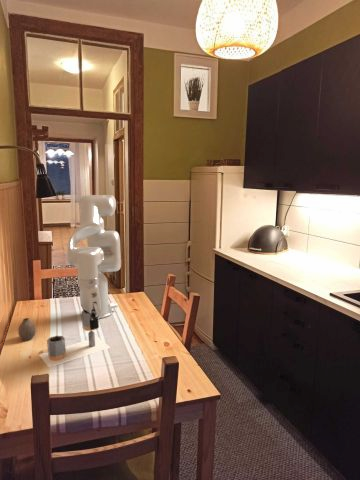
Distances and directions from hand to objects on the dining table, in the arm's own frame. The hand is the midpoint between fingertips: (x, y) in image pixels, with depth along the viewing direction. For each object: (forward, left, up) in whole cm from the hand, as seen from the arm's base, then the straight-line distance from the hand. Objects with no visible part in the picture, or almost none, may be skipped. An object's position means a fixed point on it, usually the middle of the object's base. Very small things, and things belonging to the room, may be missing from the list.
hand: (90, 325), depth 138 cm
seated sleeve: (+14, 0, -9) cm, 16 cm away
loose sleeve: (0, 0, -1) cm, 1 cm away
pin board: (+7, 0, -10) cm, 12 cm away
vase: (+18, -27, -10) cm, 34 cm away
